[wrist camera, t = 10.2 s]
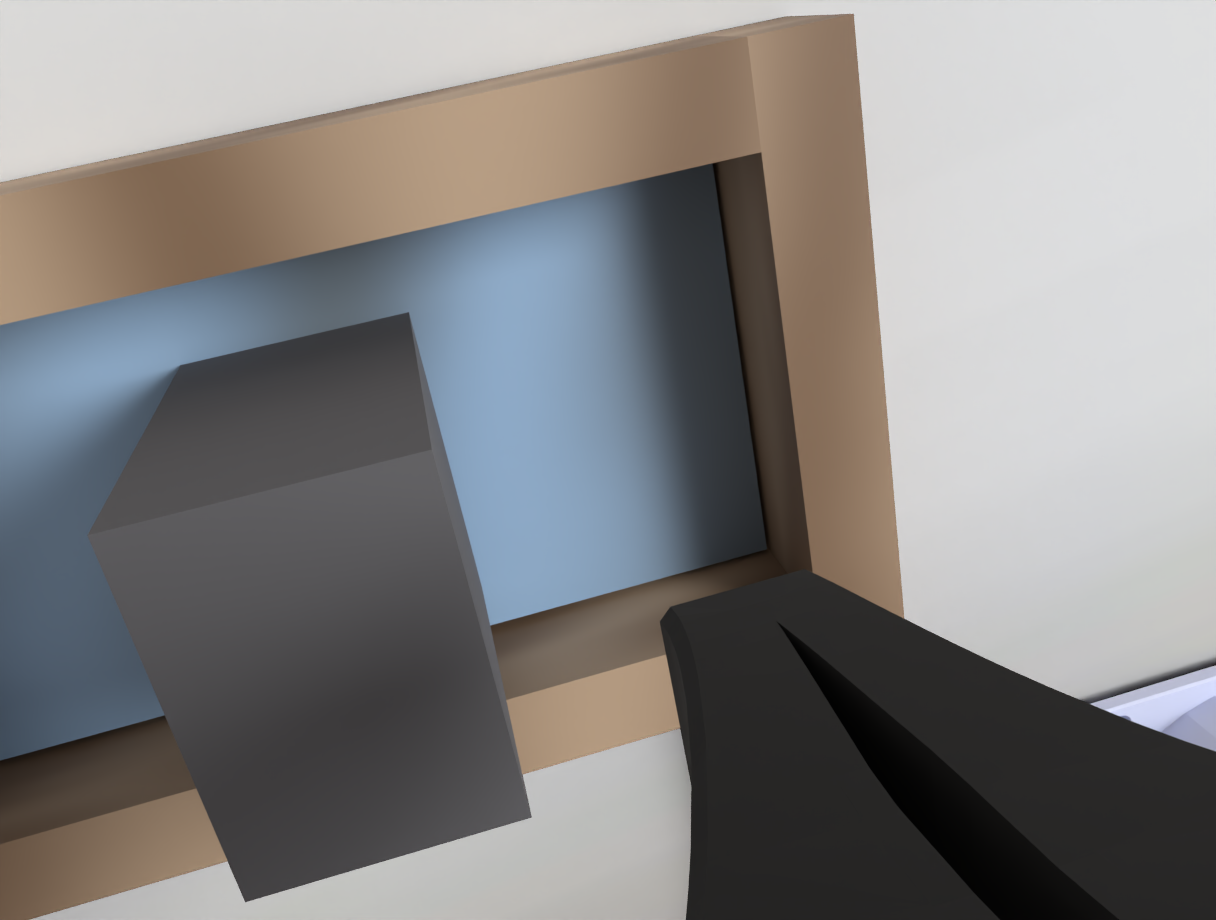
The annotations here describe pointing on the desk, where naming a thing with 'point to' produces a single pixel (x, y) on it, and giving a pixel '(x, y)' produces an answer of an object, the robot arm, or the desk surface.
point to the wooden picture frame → (458, 388)
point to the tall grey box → (313, 607)
